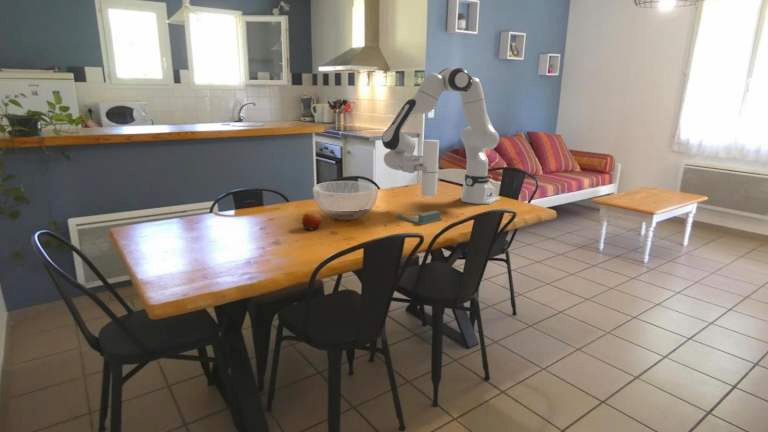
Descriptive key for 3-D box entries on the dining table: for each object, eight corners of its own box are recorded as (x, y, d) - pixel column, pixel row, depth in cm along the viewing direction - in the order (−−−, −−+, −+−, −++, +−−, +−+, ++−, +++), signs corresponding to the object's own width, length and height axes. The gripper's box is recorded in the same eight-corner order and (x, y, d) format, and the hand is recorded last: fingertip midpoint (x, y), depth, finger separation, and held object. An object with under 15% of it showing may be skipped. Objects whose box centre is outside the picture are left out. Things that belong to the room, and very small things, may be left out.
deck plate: (415, 212, 220) (415, 204, 219) (441, 220, 208) (441, 211, 207) (395, 216, 212) (395, 208, 210) (421, 225, 200) (421, 216, 199)
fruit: (296, 228, 187) (300, 209, 189) (304, 232, 194) (309, 214, 196) (313, 230, 184) (318, 211, 186) (321, 235, 192) (325, 217, 194)
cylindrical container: (436, 192, 219) (439, 139, 212) (436, 196, 212) (439, 141, 205) (421, 192, 219) (423, 139, 213) (421, 195, 212) (423, 141, 206)
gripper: (394, 159, 214) (416, 163, 204) (424, 155, 227) (446, 159, 217) (394, 172, 216) (415, 177, 206) (424, 168, 229) (445, 172, 219)
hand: (431, 168), depth 212 cm, fingers closed on cylindrical container, 7 cm apart
